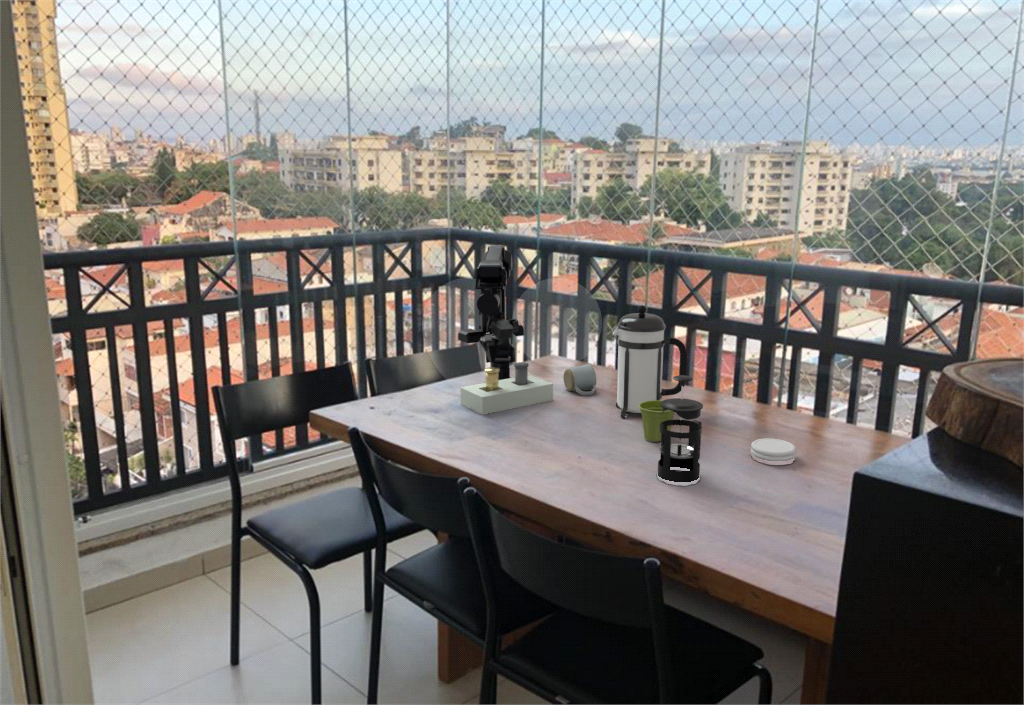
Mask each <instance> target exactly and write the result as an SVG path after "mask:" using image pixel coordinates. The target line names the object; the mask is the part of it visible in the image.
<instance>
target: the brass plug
mask: <svg viewBox="0 0 1024 705" xmlns="http://www.w3.org/2000/svg"><path fill="white" fill-rule="evenodd" d="M498 372H499V368H496V367H491V366H490V367H485V368H484V373H485V383H486V392H489V391H495V390H499V383H498Z"/></svg>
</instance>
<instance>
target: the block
mask: <svg viewBox="0 0 1024 705" xmlns="http://www.w3.org/2000/svg"><path fill="white" fill-rule="evenodd" d="M498 383H499V390H495V391H489V392H486V382H482V383H475V384H472V385H465V386H460V390H459V392H460V405H462V406H464V407H466V408H468V409H470V410H472V411H473V412H476V413H478V414H480V415H488V413H489V414H492V413H493V412H494V413H498V412H502V410H503V411H507V410H506V409H508V410H511V409H510V408H513V409H516V408H515V407H518V408H522V406H523V407H527V406H532V405H535V404H536V403H537V404H542V403H545V402H546V401H547V402H550V401H551V402H552V401H554V383H552V382H551V381H550V382H549V381H547V380H545V379H541V378H539V377H537V376H534V375H531V374H528V384H526V385H521V386H518V385H516V384H515V376H514V377H511V378H509V379H503V380H498ZM541 402H542V403H541ZM547 402H546V403H547ZM531 404H532V405H531ZM537 404H536V405H537ZM497 411H498V412H497Z"/></svg>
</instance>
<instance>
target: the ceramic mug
mask: <svg viewBox="0 0 1024 705" xmlns="http://www.w3.org/2000/svg"><path fill="white" fill-rule="evenodd" d="M563 383H564V386H565V388H566V389H567V391H569V392H576V393H578V394H579V395H581V396H584V397H585V396H586V397H588V396H592V395H593V394H594V393H595V391H596V386H597V374H596V371H595V368H594V367H593V365H592V364H589V363H588V364H587V363H586V364H583V365H578V366H573V367H569V368H566V369H565V371H564V373H563Z"/></svg>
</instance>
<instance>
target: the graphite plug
mask: <svg viewBox="0 0 1024 705" xmlns="http://www.w3.org/2000/svg"><path fill="white" fill-rule="evenodd" d="M513 367H514V377H515V384H516V385H518V386H521V385H526V384H528V375H529V374H528V372H529V371H528V369H529V368H528V367H529V363H528V362H524V361H521V362H520V361H518V362H514V363H513Z"/></svg>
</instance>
